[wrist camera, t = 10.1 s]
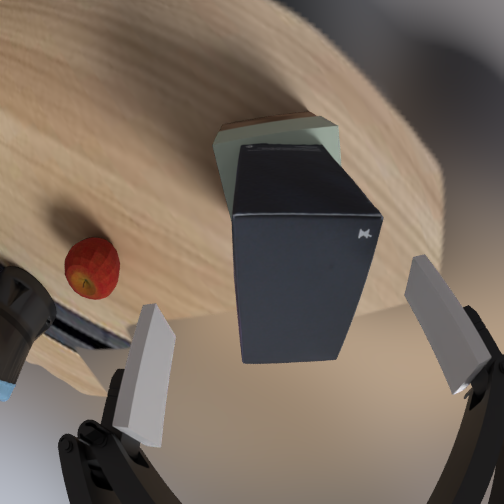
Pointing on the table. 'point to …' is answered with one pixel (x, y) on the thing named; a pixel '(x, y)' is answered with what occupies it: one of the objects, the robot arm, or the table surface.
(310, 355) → the small box
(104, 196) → the table surface
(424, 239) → the table surface
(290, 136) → the tower top
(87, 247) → the apple
